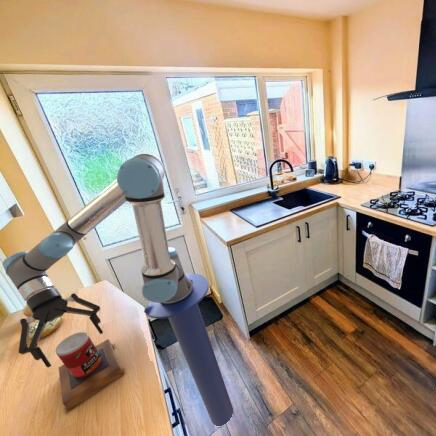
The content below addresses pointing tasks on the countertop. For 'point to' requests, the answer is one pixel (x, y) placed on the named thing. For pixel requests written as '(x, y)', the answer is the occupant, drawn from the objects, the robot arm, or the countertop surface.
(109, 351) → the wooden picture frame
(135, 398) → the countertop surface
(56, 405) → the countertop surface
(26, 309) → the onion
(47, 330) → the decorated donut
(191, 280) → the robot arm
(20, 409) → the countertop surface
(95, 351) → the canned food
